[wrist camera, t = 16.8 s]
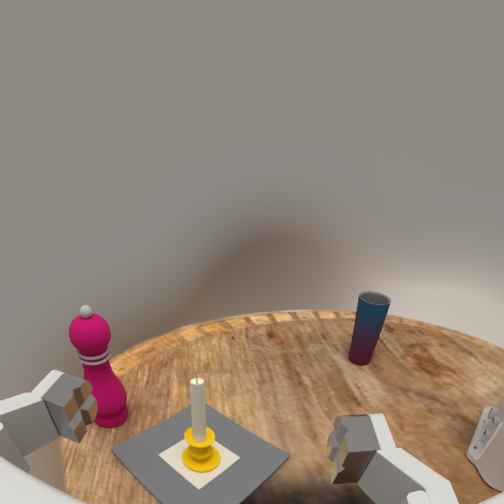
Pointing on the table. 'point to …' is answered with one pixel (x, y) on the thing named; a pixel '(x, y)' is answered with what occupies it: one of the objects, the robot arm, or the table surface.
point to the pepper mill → (99, 366)
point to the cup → (368, 326)
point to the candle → (199, 434)
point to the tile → (194, 483)
